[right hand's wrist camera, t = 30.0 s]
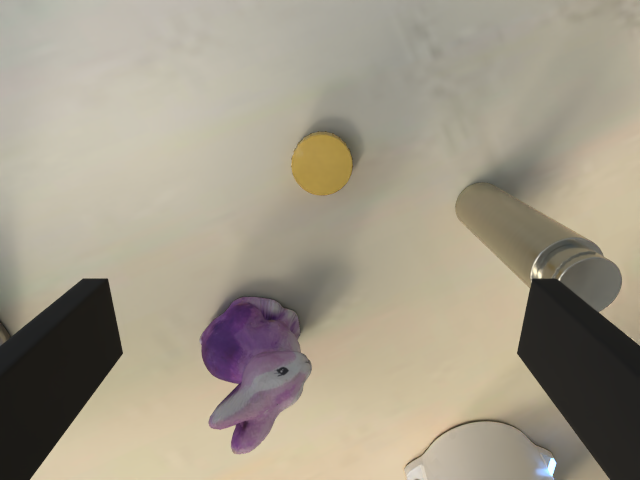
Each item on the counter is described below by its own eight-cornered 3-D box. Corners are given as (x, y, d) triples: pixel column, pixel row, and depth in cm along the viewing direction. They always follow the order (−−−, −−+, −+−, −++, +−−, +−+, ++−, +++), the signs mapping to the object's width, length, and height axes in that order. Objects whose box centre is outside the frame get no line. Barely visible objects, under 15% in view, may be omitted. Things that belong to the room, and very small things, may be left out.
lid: (357, 182, 40) (359, 187, 38) (301, 196, 41) (300, 202, 38) (343, 124, 38) (345, 126, 36) (285, 139, 39) (283, 143, 36)
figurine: (322, 315, 45) (323, 418, 31) (267, 374, 48) (245, 494, 34) (252, 266, 43) (219, 353, 29) (199, 331, 46) (145, 439, 32)
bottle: (453, 187, 40) (547, 259, 24) (501, 177, 40) (632, 243, 23) (457, 231, 42) (548, 328, 25) (503, 222, 42) (627, 314, 25)
